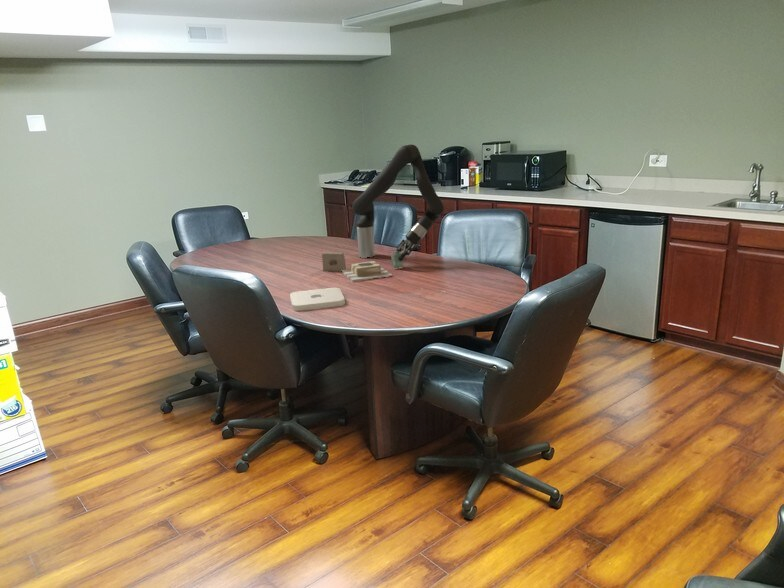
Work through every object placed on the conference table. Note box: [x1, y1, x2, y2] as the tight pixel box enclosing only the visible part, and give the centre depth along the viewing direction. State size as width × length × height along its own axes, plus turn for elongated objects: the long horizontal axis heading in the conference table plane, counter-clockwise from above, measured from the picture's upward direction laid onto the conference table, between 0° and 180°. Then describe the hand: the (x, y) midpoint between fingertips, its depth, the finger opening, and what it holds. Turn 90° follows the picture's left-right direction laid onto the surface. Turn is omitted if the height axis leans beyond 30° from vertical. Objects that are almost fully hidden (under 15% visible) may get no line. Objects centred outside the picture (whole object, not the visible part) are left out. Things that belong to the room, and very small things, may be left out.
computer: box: [289, 287, 346, 312], centre depth 249 cm, size 22×22×3 cm
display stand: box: [341, 260, 393, 283], centre depth 289 cm, size 22×20×5 cm
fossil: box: [321, 251, 347, 272], centre depth 300 cm, size 12×4×10 cm, turn 70°
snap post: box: [391, 250, 404, 268], centre depth 298 cm, size 4×4×9 cm
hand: (396, 258), depth 297 cm, fingers open, 8 cm apart
